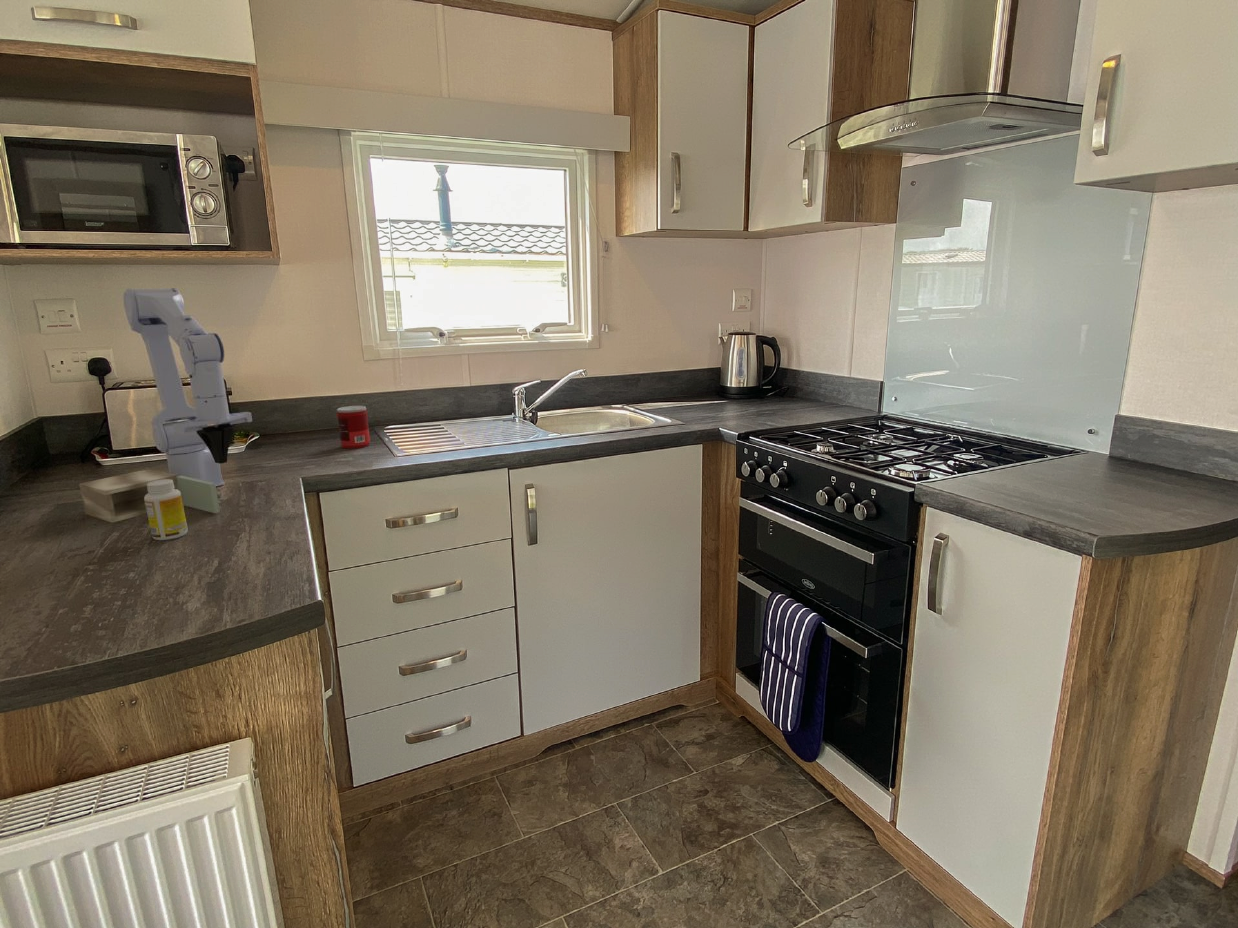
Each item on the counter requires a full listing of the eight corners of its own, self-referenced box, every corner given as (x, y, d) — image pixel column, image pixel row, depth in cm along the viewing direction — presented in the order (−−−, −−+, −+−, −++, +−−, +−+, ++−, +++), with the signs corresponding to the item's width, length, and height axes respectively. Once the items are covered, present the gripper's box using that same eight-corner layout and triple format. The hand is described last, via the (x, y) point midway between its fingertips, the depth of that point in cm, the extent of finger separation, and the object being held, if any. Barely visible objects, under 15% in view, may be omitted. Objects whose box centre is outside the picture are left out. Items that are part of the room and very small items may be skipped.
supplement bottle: (194, 530, 127) (184, 477, 125) (178, 540, 122) (168, 485, 120) (162, 531, 127) (152, 478, 124) (145, 542, 122) (134, 487, 119)
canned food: (375, 442, 199) (370, 405, 196) (362, 449, 191) (357, 410, 188) (349, 442, 199) (345, 405, 197) (336, 449, 192) (331, 410, 189)
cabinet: (155, 497, 149) (149, 468, 147) (182, 504, 143) (176, 474, 142) (85, 514, 138) (79, 483, 137) (112, 522, 133) (105, 490, 131)
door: (181, 504, 142) (176, 476, 141) (192, 501, 144) (187, 474, 143) (214, 513, 136) (209, 484, 134) (225, 510, 138) (221, 481, 136)
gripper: (182, 402, 128) (195, 473, 131) (256, 392, 140) (266, 456, 143) (162, 400, 131) (175, 468, 135) (236, 390, 143) (246, 453, 147)
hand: (221, 462), depth 139 cm, fingers closed
